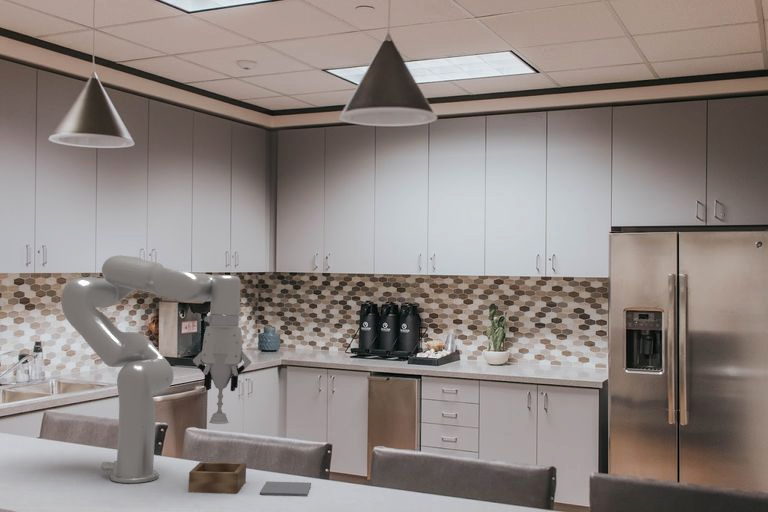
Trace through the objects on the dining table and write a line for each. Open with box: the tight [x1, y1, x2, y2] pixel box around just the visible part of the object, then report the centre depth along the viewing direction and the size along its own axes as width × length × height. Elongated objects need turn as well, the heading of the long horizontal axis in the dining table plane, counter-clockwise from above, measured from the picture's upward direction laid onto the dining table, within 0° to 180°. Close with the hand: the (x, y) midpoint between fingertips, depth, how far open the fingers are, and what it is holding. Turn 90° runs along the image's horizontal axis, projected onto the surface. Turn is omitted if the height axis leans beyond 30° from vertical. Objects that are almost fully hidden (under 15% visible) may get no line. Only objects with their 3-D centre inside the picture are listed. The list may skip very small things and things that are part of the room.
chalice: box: [209, 354, 233, 425], centre depth 203 cm, size 7×7×18 cm
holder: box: [188, 461, 247, 495], centre depth 202 cm, size 12×12×5 cm
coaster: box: [259, 481, 312, 497], centre depth 201 cm, size 12×12×1 cm
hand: (220, 389), depth 203 cm, fingers closed on chalice, 5 cm apart
